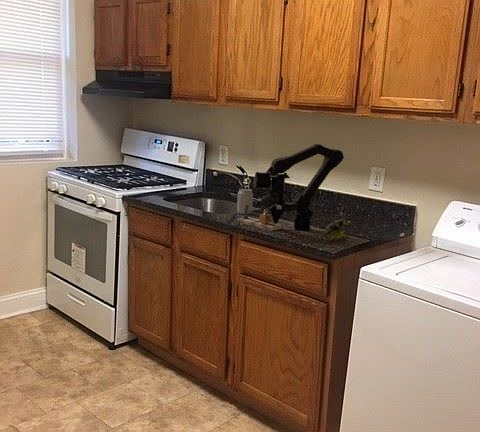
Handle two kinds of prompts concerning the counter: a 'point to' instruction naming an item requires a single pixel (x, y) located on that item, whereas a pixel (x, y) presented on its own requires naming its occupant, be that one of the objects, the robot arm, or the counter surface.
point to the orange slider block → (265, 217)
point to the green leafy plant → (337, 228)
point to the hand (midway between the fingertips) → (275, 223)
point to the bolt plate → (257, 221)
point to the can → (244, 200)
